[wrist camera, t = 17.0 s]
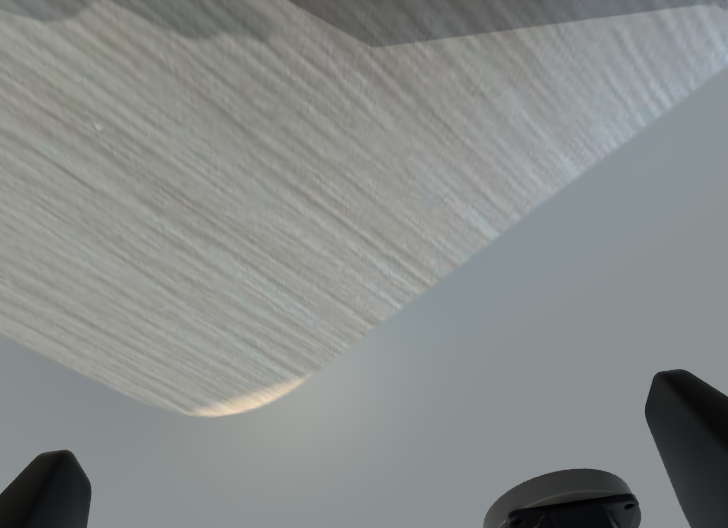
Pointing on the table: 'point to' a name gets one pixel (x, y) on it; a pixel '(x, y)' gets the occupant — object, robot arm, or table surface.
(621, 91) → the table surface
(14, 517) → the robot arm
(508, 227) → the table surface
